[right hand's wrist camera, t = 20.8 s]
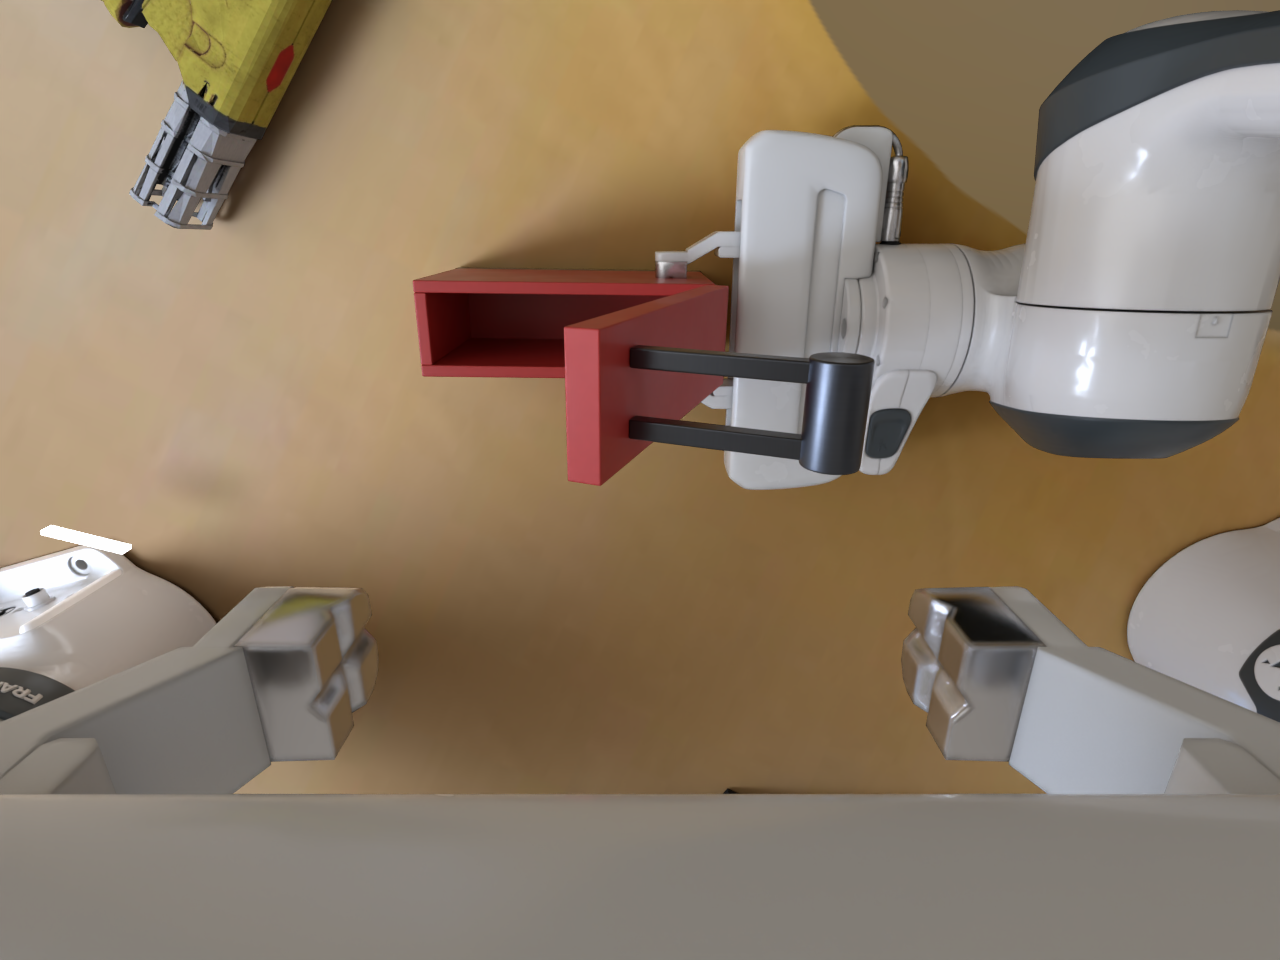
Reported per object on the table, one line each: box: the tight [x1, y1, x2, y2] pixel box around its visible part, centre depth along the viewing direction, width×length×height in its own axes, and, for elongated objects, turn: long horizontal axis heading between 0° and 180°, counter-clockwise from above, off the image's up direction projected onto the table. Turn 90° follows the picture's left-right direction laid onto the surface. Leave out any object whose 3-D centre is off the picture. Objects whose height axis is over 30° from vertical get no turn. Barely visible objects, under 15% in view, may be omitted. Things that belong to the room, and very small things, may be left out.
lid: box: [564, 285, 875, 486], centre depth 27 cm, size 16×5×9 cm
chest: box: [413, 268, 715, 378], centre depth 41 cm, size 16×5×10 cm, turn 89°
